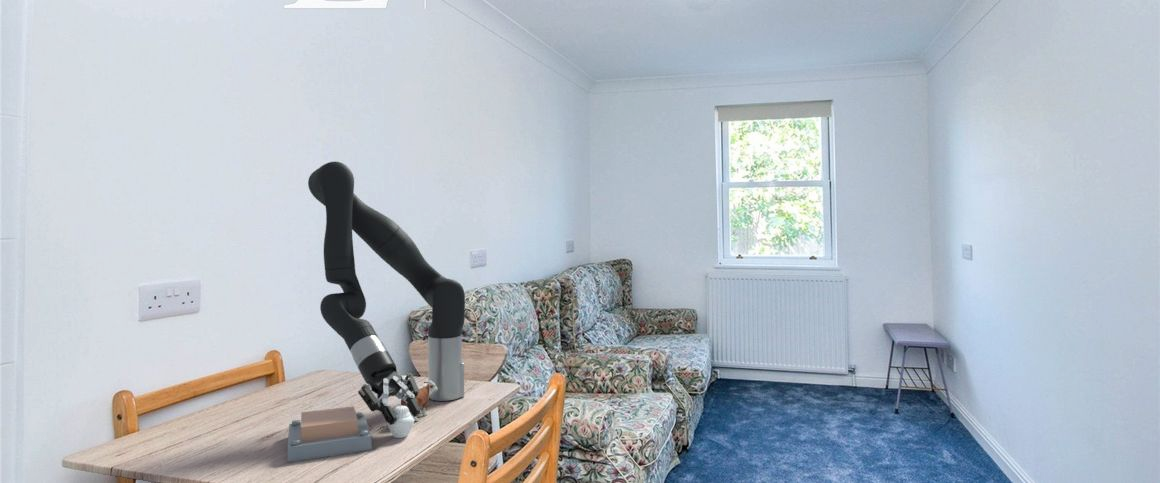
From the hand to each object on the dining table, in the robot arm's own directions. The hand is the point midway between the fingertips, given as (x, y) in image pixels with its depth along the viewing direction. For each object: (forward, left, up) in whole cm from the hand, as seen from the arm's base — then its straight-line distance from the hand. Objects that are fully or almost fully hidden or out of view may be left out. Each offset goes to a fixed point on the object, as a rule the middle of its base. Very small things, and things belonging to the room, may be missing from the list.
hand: (405, 418), depth 133 cm
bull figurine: (-5, -13, -5) cm, 15 cm away
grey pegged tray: (+16, -3, -4) cm, 17 cm away
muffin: (+1, -1, -4) cm, 5 cm away
